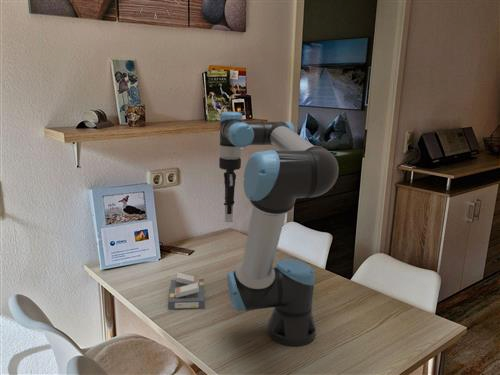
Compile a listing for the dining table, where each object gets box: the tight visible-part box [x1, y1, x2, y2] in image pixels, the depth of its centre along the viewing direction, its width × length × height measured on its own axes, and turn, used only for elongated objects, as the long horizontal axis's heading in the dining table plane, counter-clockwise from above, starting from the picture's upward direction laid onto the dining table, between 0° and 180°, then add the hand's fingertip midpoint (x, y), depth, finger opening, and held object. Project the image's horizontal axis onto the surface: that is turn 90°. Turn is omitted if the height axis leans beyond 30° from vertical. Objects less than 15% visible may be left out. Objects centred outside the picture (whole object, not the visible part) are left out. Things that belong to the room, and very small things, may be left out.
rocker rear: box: [175, 272, 200, 285], centre depth 161 cm, size 4×8×2 cm, turn 97°
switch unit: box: [168, 278, 206, 311], centre depth 157 cm, size 16×12×4 cm
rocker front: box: [175, 282, 199, 298], centre depth 153 cm, size 4×8×2 cm, turn 97°
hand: (228, 221), depth 159 cm, fingers closed
